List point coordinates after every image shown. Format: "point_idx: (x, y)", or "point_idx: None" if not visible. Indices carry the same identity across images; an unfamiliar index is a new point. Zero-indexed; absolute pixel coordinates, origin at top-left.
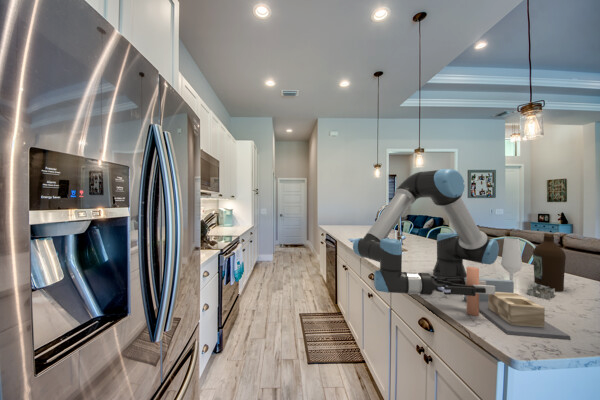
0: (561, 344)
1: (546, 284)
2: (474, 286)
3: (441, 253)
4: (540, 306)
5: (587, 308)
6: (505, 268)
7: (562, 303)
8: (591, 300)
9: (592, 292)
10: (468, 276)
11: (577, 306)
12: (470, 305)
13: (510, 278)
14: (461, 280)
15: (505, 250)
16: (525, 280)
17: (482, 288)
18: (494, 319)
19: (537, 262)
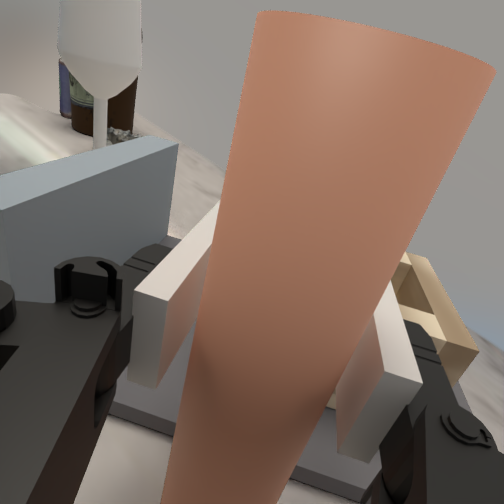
0: (484, 379)
1: (110, 123)
2: (457, 407)
3: None
4: (415, 257)
5: (222, 173)
6: (89, 74)
7: (188, 175)
8: (188, 148)
9: (157, 127)
10: (353, 262)
11: (209, 174)
12: None
13: (99, 123)
14: (104, 343)
15: None
16: (37, 117)
17: (421, 344)
18: (359, 474)
19: None
